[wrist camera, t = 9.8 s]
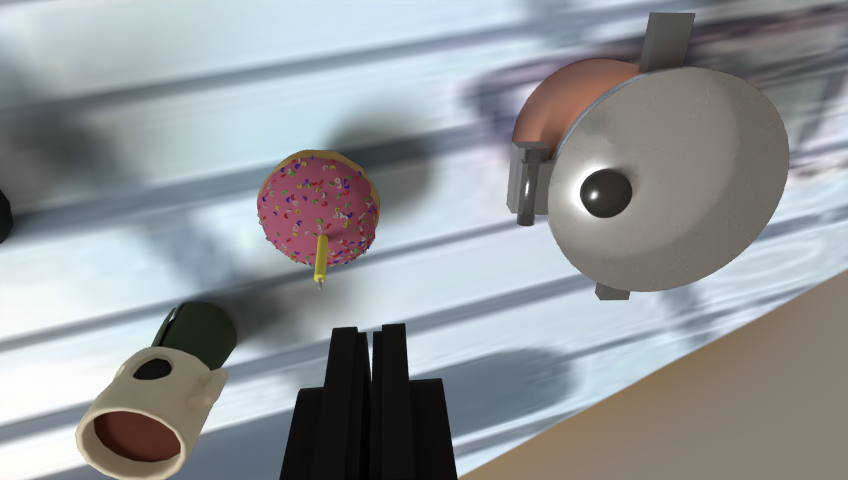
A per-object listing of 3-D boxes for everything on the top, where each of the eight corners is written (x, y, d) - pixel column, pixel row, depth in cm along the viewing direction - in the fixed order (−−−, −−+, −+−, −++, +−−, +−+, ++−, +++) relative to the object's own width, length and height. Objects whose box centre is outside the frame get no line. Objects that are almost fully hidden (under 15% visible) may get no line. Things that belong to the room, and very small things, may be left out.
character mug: (235, 275, 41) (172, 381, 29) (277, 337, 44) (234, 456, 32) (126, 318, 42) (22, 437, 30) (174, 375, 45) (96, 504, 33)
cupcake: (399, 211, 39) (402, 287, 28) (310, 254, 40) (280, 343, 29) (346, 116, 35) (325, 162, 25) (250, 167, 37) (190, 232, 26)
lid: (529, 64, 25) (536, 67, 23) (812, 68, 25) (839, 72, 23) (507, 281, 30) (511, 297, 28) (737, 285, 30) (755, 300, 28)
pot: (494, 11, 33) (534, 10, 24) (691, 14, 34) (805, 14, 24) (478, 244, 41) (503, 314, 31) (638, 242, 41) (709, 309, 32)
